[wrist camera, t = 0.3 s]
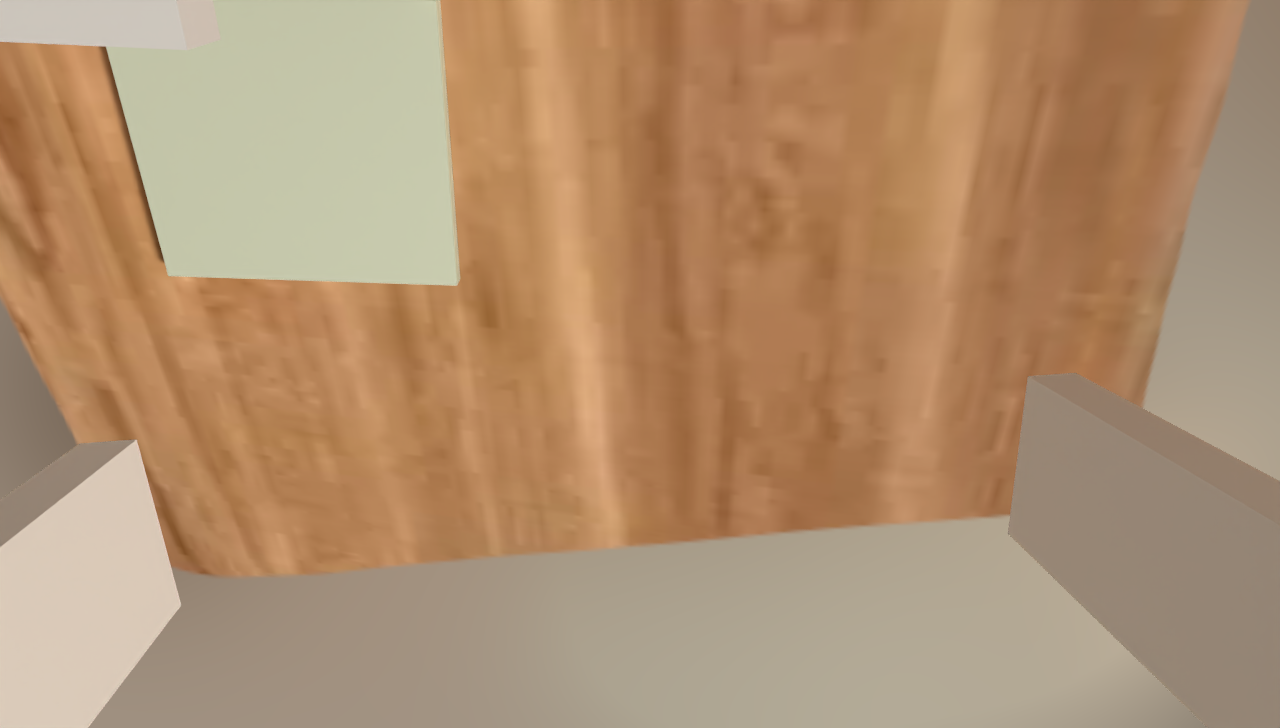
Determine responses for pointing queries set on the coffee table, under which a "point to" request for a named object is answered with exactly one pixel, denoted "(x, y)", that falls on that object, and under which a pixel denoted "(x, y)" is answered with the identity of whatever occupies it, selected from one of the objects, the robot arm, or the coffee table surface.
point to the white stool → (110, 23)
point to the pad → (299, 143)
